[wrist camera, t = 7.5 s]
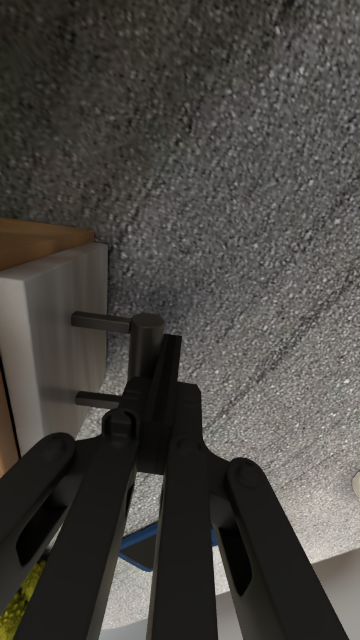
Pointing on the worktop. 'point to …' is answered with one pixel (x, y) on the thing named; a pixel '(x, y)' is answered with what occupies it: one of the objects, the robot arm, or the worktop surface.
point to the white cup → (356, 484)
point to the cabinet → (15, 249)
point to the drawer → (64, 341)
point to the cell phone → (145, 547)
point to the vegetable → (19, 602)
